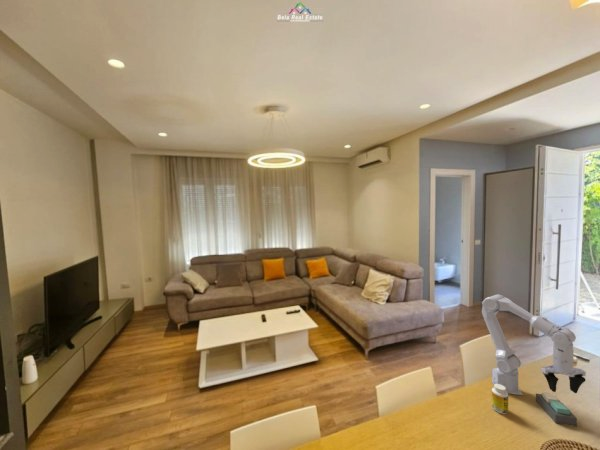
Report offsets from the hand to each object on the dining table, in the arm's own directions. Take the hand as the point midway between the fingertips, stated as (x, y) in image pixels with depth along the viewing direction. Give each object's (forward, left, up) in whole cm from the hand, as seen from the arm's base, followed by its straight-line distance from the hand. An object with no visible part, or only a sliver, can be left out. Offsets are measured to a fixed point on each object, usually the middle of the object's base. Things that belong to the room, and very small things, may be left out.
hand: (563, 390), depth 104 cm
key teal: (-2, -2, -7) cm, 8 cm away
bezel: (-2, +1, -10) cm, 11 cm away
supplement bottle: (-23, -3, -11) cm, 26 cm away
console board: (-2, +1, -10) cm, 11 cm away
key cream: (-2, +4, -7) cm, 8 cm away
